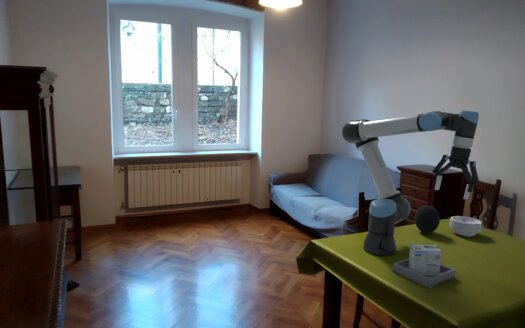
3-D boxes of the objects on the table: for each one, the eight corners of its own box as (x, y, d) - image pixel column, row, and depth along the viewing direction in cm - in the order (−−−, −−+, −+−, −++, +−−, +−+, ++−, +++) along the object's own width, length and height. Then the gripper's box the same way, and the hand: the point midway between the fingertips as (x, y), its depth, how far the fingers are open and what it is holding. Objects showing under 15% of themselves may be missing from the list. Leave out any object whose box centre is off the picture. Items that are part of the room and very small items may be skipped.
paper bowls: (475, 230, 215) (477, 216, 214) (484, 240, 201) (486, 225, 199) (445, 227, 219) (447, 214, 217) (452, 237, 204) (454, 222, 203)
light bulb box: (433, 269, 161) (436, 244, 159) (439, 276, 154) (442, 251, 152) (407, 267, 162) (409, 243, 160) (412, 275, 155) (414, 249, 153)
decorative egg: (443, 235, 206) (446, 207, 204) (425, 237, 202) (427, 209, 199) (426, 227, 218) (428, 201, 215) (408, 229, 213) (410, 203, 211)
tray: (392, 271, 160) (393, 263, 159) (416, 262, 170) (417, 255, 169) (430, 288, 146) (431, 279, 146) (454, 277, 156) (455, 269, 155)
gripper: (496, 153, 159) (483, 202, 163) (440, 141, 179) (430, 185, 183) (486, 152, 155) (474, 203, 159) (430, 141, 175) (420, 186, 179)
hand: (450, 194), depth 171 cm, fingers open, 13 cm apart
